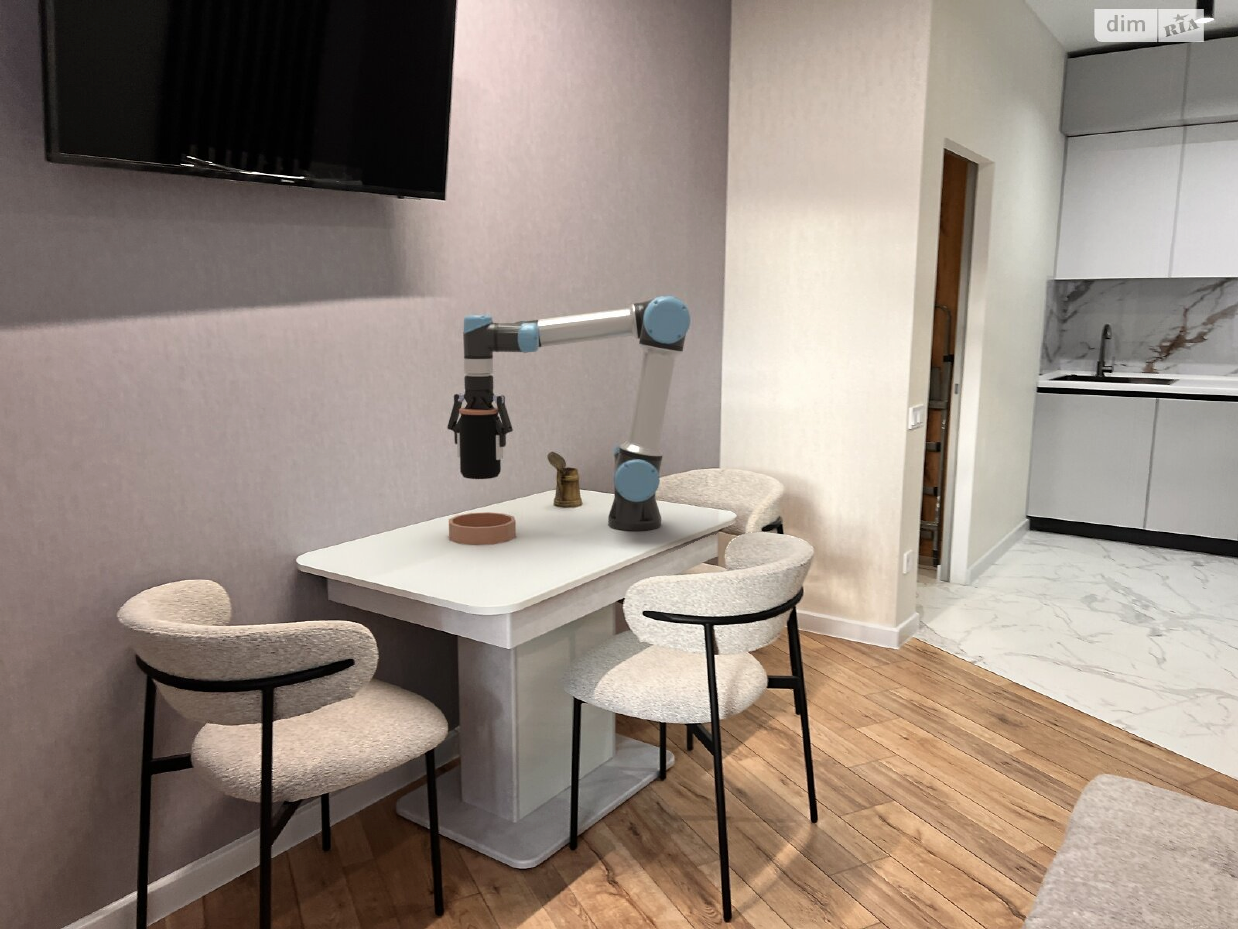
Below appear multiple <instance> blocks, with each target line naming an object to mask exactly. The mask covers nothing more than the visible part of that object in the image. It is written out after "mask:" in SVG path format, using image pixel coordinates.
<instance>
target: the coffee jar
mask: <svg viewBox="0 0 1238 929" xmlns="http://www.w3.org/2000/svg"><path fill="white" fill-rule="evenodd" d="M493 407H494V406H493ZM464 408H465V407H461V409H459V415H460V416H459V418H458V421H459V432H460V457H459V466H460V467H459V469H460V472H459V473H460V474H461V475H462V478H465V479H470V480H488V479H495V478H497V477H499V475H500V473H501V471H502V469H501V468H502V467H501V466H502V465H501V464H502V463H501V461H502V459H500V460H496V435H498V434H499V433H498V432H497V430H496V428H495V419H496V420H498V419H500V420H501V418H500V415H499V411H498V408H497V407H494V408H495V409H492V410H481V409H471V408H470V409H464ZM493 416H494V417H495V419H494V417H493ZM497 416H498V417H499V418H498V417H497Z"/></svg>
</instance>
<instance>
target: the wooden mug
mask: <svg viewBox="0 0 1238 929" xmlns="http://www.w3.org/2000/svg"><path fill="white" fill-rule="evenodd" d="M546 458H547V461H548V462H549V464H550V465H551V466H552V467H553V468H554V469H556V488H555V494H554V498H553V506H555V507H559V508H575V507H576V508H577V507H580V506H582V505H583V499H582V497H581V496H582V495H581V490H580V489H581V488H580V480H579V479H580V474H579V470H578V468H576V467H570V466H569V467H567V463H566V462H567V461H566V460H565V458H564V457H563V456H561V455H560V454H558V453H557V452H555V451H550V452H548V454H547V457H546Z"/></svg>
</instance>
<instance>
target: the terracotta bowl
mask: <svg viewBox="0 0 1238 929" xmlns="http://www.w3.org/2000/svg"><path fill="white" fill-rule="evenodd" d="M516 523H517V522H516V519H515V516H513V515H510V514H506V513H504V512H503V513H500V512H490V511H489V512H488V511H487V512H468V513H464V514H463V513H462V514H459V515H458V514H457V515H455V516H453V517H451V518H448V538H449V541H450V542H451V541H452V542H454V543H457V544H460V545H461V544H462V545H471V546H479V545H480V546H481V545H482V546H484V545H495V544H501V543H506V542H509V541H511V540H513V539H515V538H516V537H517V533H516V532H517V531H516V530H517V529H516V528H517V526H516V525H517V524H516ZM514 537H515V538H514Z"/></svg>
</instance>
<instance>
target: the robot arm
mask: <svg viewBox="0 0 1238 929" xmlns="http://www.w3.org/2000/svg"><path fill="white" fill-rule="evenodd" d="M690 315H691V314H690V311H689V309H688V307H687V305H686V304H685V302H683V301H682V300H681V299H679V298H678V297H675V296H671V295H662V296H658V297H655V298H652V299H650V300H645V301H643V302H641V301H640V302H636V303H631V305H630V306H629V307H625V308H620V309H618V308H617V309H610V310H605V311H604V310H603V311H595V312H588V313H580V314H579V313H578V314H572V315H563V316H555V317H547V318H540V319H531V320H525V321H524V320H519V321H515V322H510V323H509V322H503V323H501V322H500V323H499V322H494V321H493V317H492V315H486V314H485V315H483V314H478V315H477V314H475V315H474V314H473V315H471V314H468V315H466V316H464V318H463V331H462V334H463V336H462V337H463V366H464V367H463V368H464V369H463V373H464V374H466V375H465V376H464V379H463V380H464V382H463V383H464V390H465V391H464V393H463V394H462V393H460V392H459V393H455V394H454V395H453V405H452V409H451V413H450V416H449V420H448V424H447V429H448V430H450V431H452V432H453V433H454V444H455V445H457V458H460V432H459V418H460V413H459V409H461V408H462V406H463V403H464V400H465V403H466V405H465V407H463V408H464V409H470V408H471V409H481V410H492V409H495V408H498V411H499V413H498V416H499V417H500V419H498V420H496V419H495V417H494V416H493V417H494V419H495V428H496V430H497V432H498V433H499V434H498V435H496V460H500V459H501V460H503V459H504V448H505V447H506V445H507V434H510V433H512V432H513V431H514V428H513V426H512V422H511V420H510V416H509V413H508V410H507V406H506V396H505V395H503V394H502V395H495V394H494V376H493V375H492V374H493V373H494V352H495V353H500V352H501V353H523V354H527V353H536V352H537V351H538V350H539V348H543V347H553V346H559V345H568V344H577V343H585V342H592V341H594V342H595V341H601V340H602V341H603V340H609V339H617V338H625V337H634V338H635V339H637V340H639V342H638V346H639V347H640V348H641V350H642V359H641V362H640V368H639V373H638V377H637V378H638V380H637V384H636V389H635V394H634V400H633V405H632V409H631V410H632V412H631V417H630V422H629V428H628V433H627V437H626V438H627V439H626V440H625V442H623V443H622V444H618V445H617V446H615V447H614V453H613V456H614V476H613V483H614V485H613V486H614V495H613V496H614V499H613V501H612V505H611V507H610V511H609V513H608V516H607V518H608V520H607V524H608V526H609V527H611V528H613V529H616V530H622V531H636V532H637V531H639V532H641V531H650V530H654V529H657V528H659V527H661V526H662V516H661V512H660V509H659V506H658V502H657V499H656V493H657V491H658V488H659V486H660V473H661V472H660V471H661V466H662V461H663V457H664V456H663V455H664V453H663V451H662V450H661V449H660V442H661V441H660V440H661V435H662V431H663V425H664V419H665V415H666V411H667V405H668V399H669V395H670V394H669V393H670V388H671V385H672V384H671V383H672V378H673V372H674V368H675V361H676V358H677V357H678V356H680V355H681V354H682V353H683V351H684V348H685V341H686V337H687V336H686V335H687V333H688V331H689V329H690V326H691V316H690ZM493 402H494V403H495V404H496V407H495V408H494V405H493ZM498 416H497V417H498ZM499 417H498V418H499Z"/></svg>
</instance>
